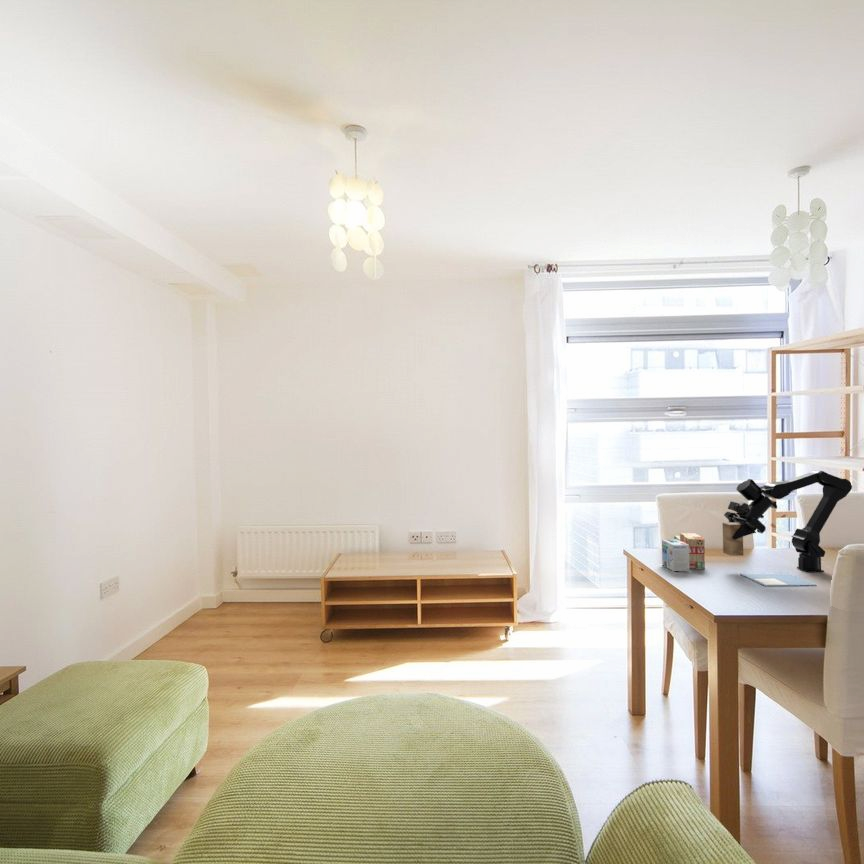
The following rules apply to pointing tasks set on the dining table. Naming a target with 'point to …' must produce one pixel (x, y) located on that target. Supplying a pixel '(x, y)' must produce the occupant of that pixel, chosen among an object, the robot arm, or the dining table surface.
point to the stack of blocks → (694, 549)
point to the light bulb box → (675, 555)
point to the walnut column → (729, 543)
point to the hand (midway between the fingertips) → (729, 537)
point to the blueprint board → (777, 579)
